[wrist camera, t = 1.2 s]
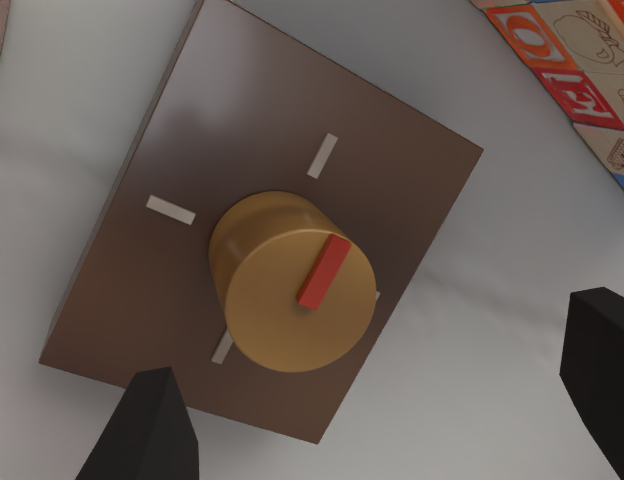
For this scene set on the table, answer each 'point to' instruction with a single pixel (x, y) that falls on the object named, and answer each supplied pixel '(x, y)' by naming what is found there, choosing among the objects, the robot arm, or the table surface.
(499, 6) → the stack of blocks
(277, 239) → the dial
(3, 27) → the button base
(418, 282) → the table surface
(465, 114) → the table surface
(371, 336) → the dial panel
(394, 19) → the table surface
